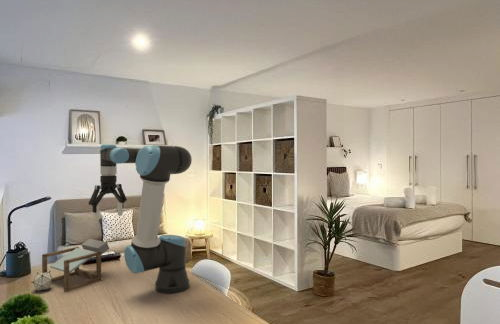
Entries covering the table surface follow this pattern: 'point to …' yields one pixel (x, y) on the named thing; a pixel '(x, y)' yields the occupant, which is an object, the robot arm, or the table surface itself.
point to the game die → (43, 281)
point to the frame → (80, 272)
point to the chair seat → (81, 254)
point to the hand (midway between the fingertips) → (108, 217)
